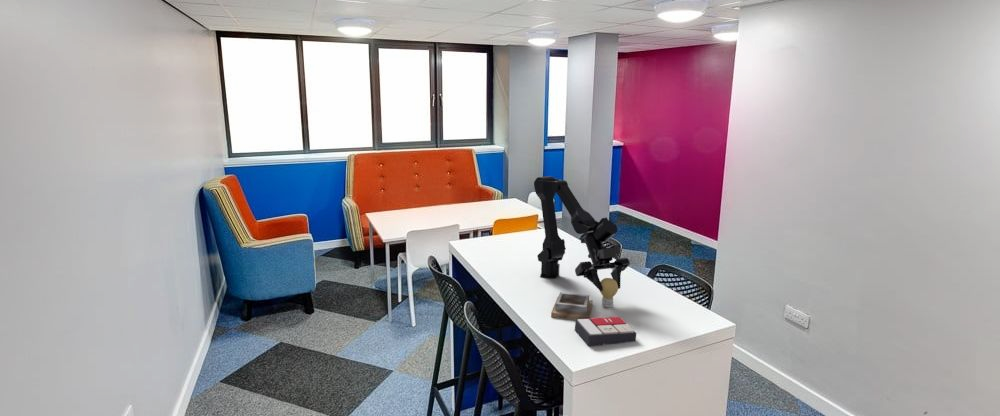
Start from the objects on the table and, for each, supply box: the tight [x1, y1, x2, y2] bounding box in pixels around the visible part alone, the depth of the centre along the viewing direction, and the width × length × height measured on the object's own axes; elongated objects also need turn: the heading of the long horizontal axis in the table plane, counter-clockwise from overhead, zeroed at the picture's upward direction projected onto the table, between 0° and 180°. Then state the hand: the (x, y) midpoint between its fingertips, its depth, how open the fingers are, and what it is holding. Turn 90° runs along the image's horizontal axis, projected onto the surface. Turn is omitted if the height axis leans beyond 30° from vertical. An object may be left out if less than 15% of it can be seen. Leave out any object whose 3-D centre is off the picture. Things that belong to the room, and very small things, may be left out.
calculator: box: [574, 316, 637, 347], centre depth 155 cm, size 11×4×15 cm
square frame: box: [550, 291, 594, 321], centre depth 172 cm, size 12×14×4 cm
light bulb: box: [599, 277, 619, 309], centre depth 175 cm, size 6×6×10 cm
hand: (610, 289), depth 173 cm, fingers closed on light bulb, 6 cm apart
